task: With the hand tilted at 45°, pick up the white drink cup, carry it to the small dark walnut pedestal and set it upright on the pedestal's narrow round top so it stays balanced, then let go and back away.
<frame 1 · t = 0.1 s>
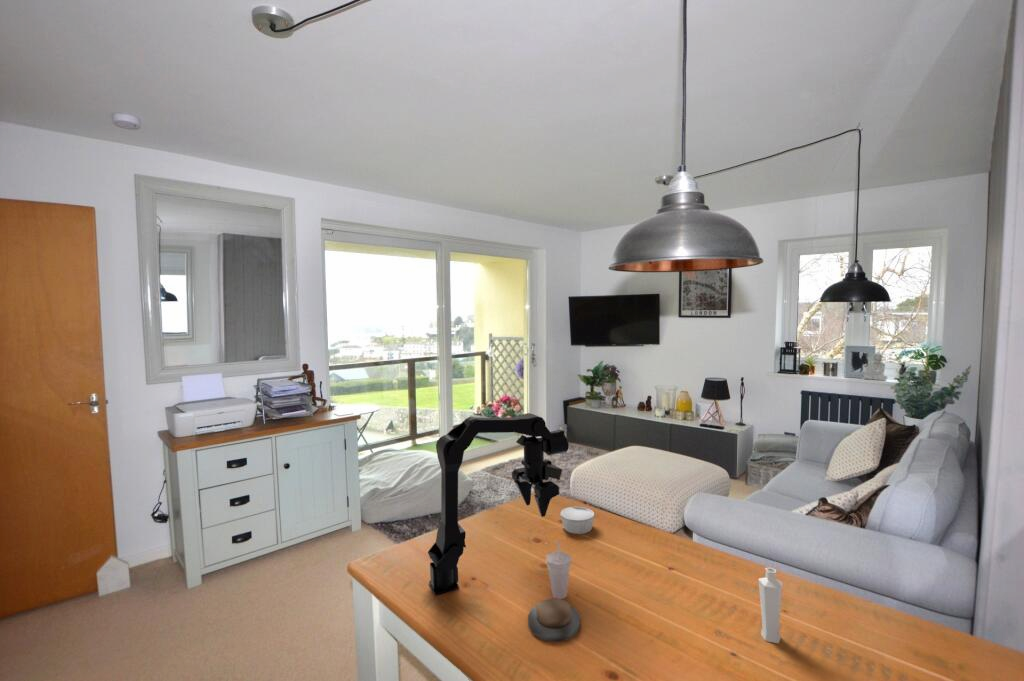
hand: (535, 510, 136), 15 cm above the table, tool pointing down, fingers open, 9 cm apart
ramekin: (577, 528, 156), on the table
white drink cup: (559, 595, 119), on the table
perfume bottle: (769, 637, 102), on the table
pedestal: (554, 623, 108), on the table
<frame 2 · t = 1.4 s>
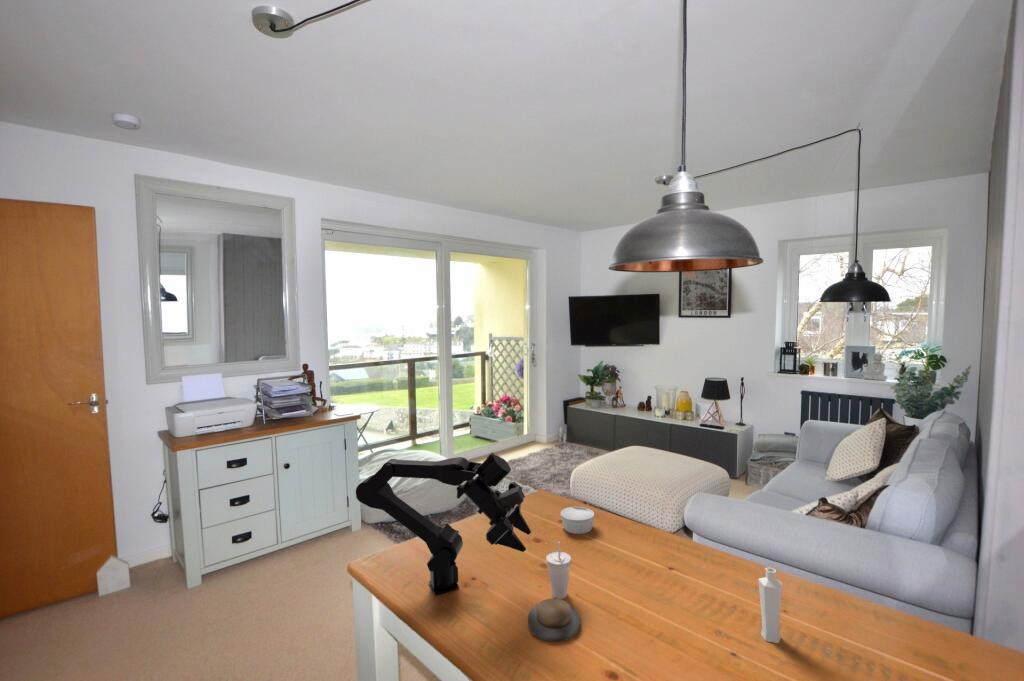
hand: (527, 541, 120), 13 cm above the table, tool tilted 45°, fingers open, 9 cm apart
nothing on the table moved.
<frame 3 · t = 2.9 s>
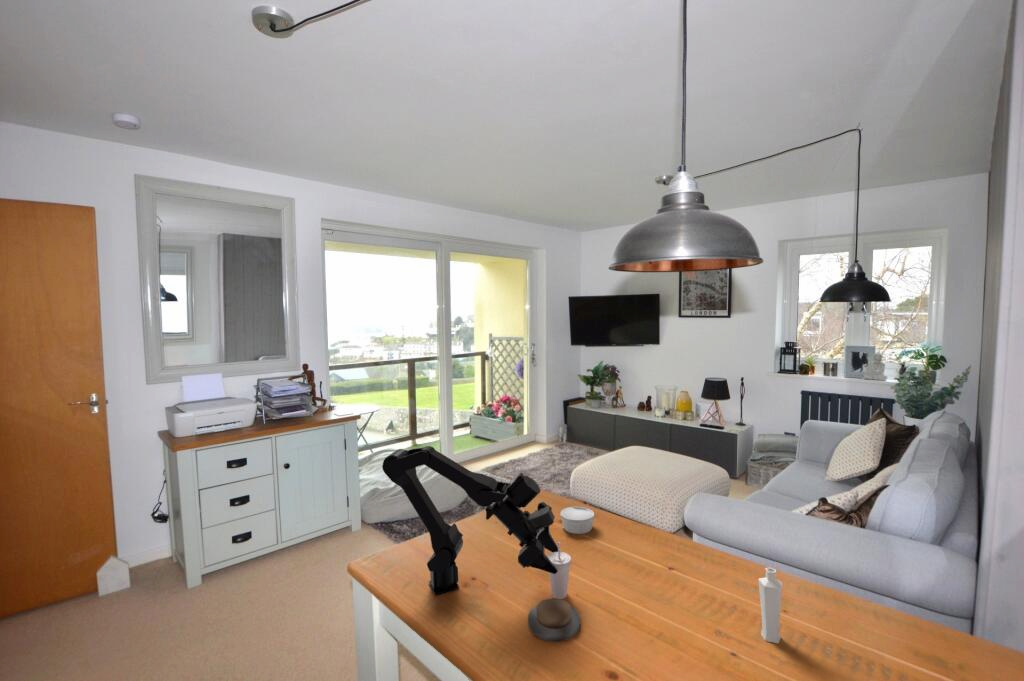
hand: (557, 562, 119), 8 cm above the table, tool tilted 45°, fingers open, 9 cm apart
nothing on the table moved.
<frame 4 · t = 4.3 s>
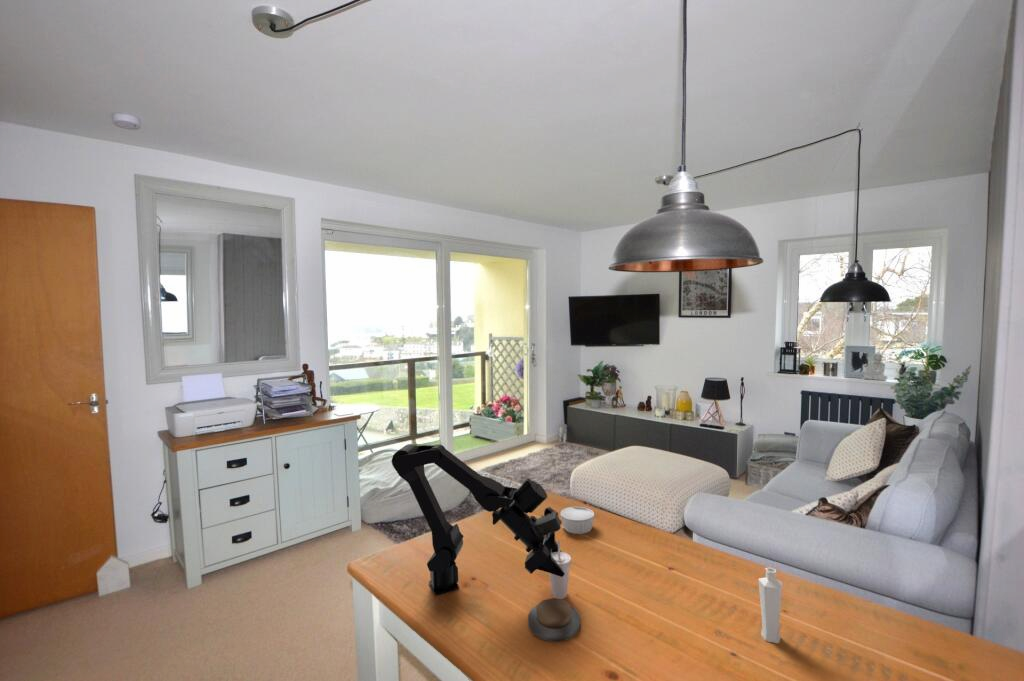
hand: (564, 568, 119), 7 cm above the table, tool tilted 45°, fingers closed on white drink cup, 6 cm apart
white drink cup: (559, 595, 119), on the table, touching gripper
everything else where it was.
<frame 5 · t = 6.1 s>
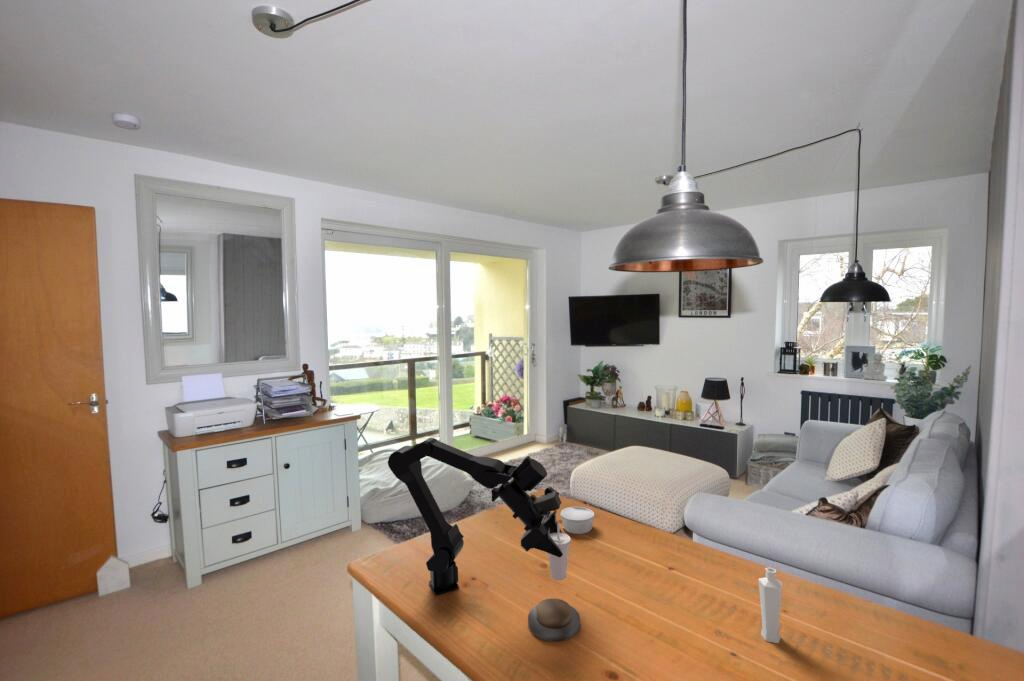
hand: (563, 549, 116), 13 cm above the table, tool tilted 45°, fingers closed on white drink cup, 6 cm apart
white drink cup: (558, 576, 117), point 6 cm above the table, touching gripper
everything else where it was.
when the fingers open (12 cm above the table, at t = 8.0 s): white drink cup drops 1 cm, resting on pedestal.
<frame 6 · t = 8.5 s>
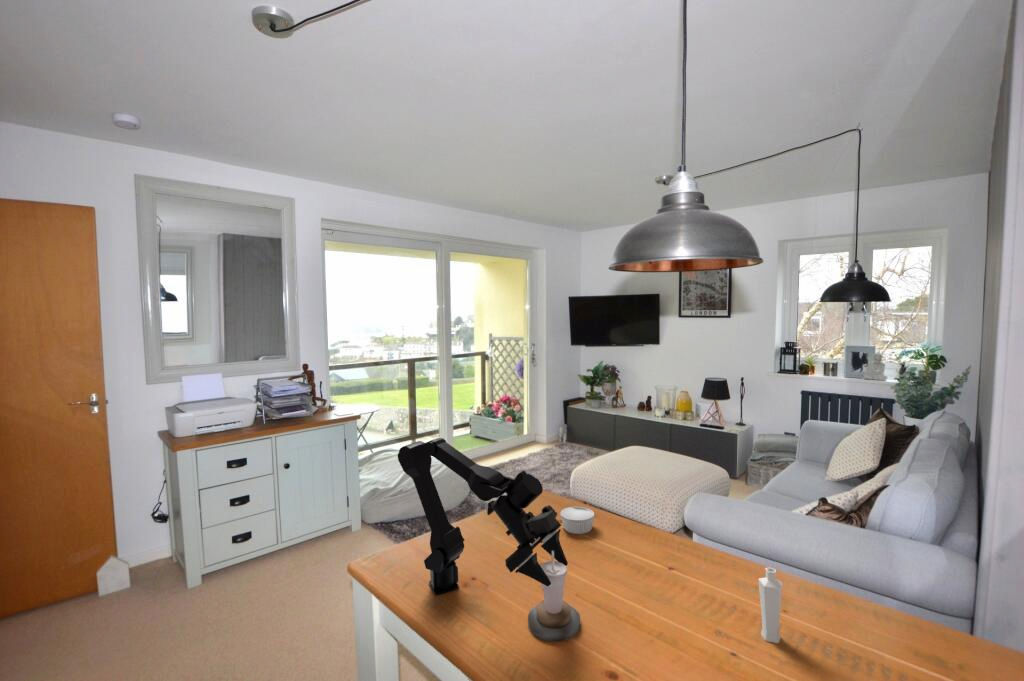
hand: (558, 574, 107), 12 cm above the table, tool tilted 45°, fingers open, 9 cm apart
white drink cup: (553, 609, 108), point 3 cm above the table, touching pedestal
everything else where it was.
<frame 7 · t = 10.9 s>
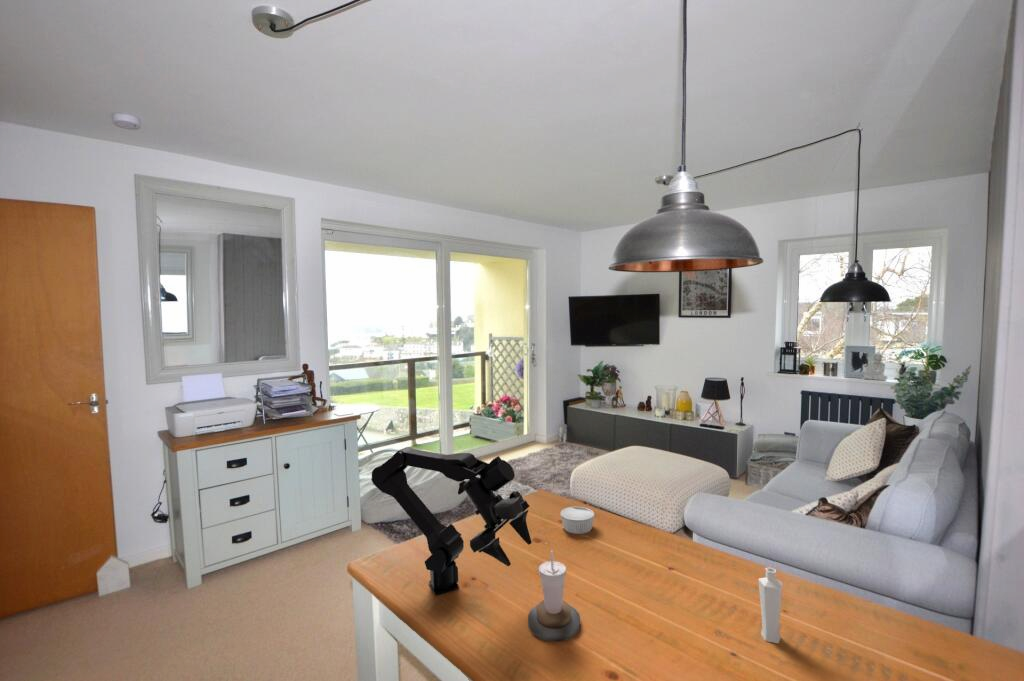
hand: (520, 554, 115), 13 cm above the table, tool tilted 35°, fingers open, 9 cm apart
nothing on the table moved.
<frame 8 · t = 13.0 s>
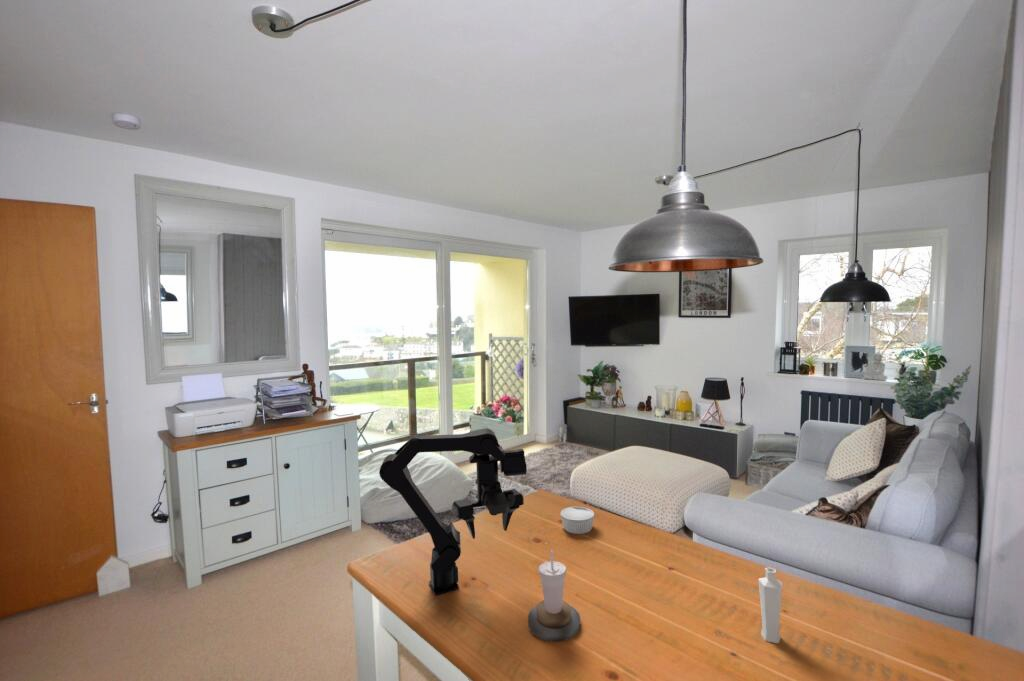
hand: (489, 534, 126), 13 cm above the table, tool pointing down, fingers open, 9 cm apart
nothing on the table moved.
at the end: white drink cup 0.1 cm off-centre on the pedestal, point 3.3 cm above the pedestal's base; white drink cup tilted 0°; the gripper is holding nothing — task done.
